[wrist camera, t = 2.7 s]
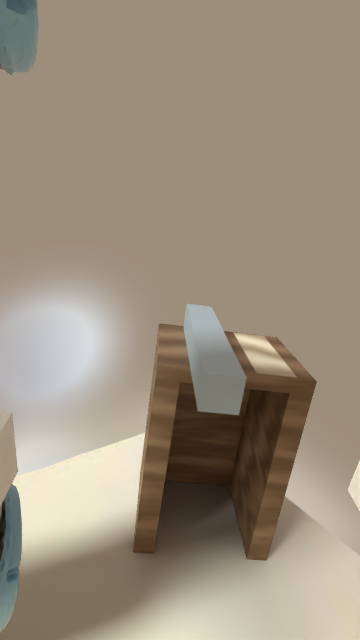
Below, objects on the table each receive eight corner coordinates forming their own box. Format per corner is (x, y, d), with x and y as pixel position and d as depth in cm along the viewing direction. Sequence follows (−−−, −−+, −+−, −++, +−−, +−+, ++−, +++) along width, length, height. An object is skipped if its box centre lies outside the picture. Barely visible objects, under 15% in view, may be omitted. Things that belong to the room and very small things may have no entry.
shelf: (266, 560, 52) (316, 380, 43) (133, 552, 50) (157, 363, 41) (243, 481, 67) (276, 336, 58) (140, 472, 65) (159, 322, 57)
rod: (238, 415, 33) (246, 377, 32) (197, 411, 33) (204, 373, 32) (207, 330, 57) (211, 306, 56) (183, 327, 57) (186, 303, 55)
